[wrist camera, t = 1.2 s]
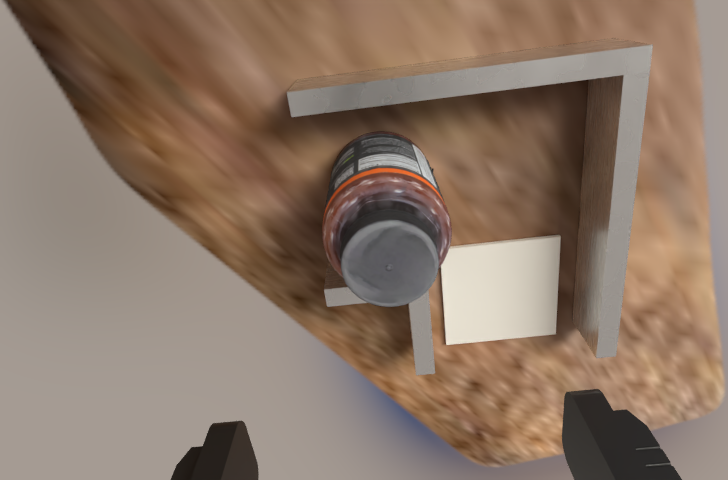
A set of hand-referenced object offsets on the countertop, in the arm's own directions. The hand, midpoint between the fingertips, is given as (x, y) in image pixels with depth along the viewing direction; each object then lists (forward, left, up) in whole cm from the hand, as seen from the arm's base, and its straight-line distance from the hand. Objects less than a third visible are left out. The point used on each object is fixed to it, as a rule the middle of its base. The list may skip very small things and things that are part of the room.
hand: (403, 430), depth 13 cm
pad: (+9, +7, -20) cm, 23 cm away
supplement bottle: (0, 0, -20) cm, 20 cm away
